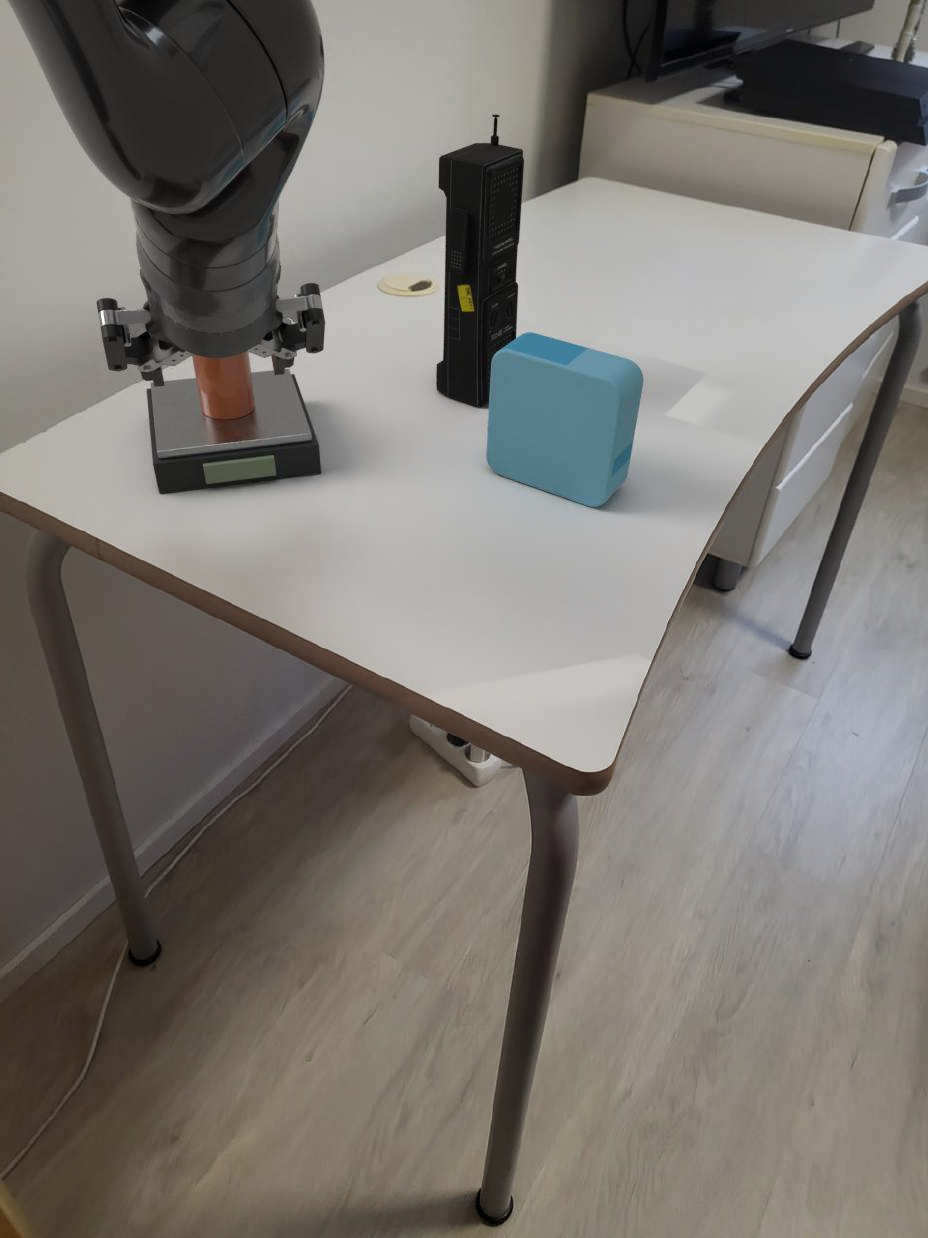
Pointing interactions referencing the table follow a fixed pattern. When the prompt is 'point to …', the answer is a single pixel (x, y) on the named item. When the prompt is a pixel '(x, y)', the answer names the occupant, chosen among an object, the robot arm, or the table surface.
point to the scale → (234, 462)
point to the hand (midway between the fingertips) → (217, 367)
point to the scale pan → (198, 434)
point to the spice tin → (224, 386)
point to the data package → (562, 417)
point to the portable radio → (479, 263)
